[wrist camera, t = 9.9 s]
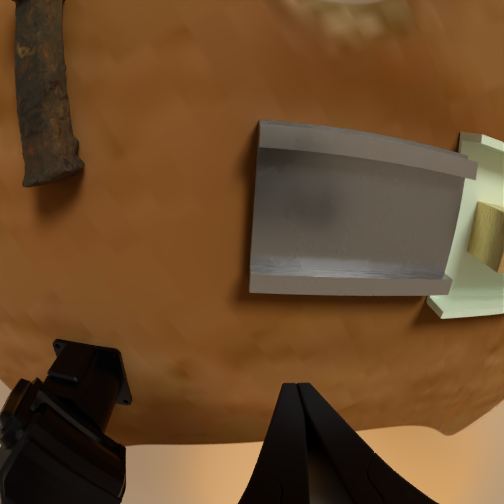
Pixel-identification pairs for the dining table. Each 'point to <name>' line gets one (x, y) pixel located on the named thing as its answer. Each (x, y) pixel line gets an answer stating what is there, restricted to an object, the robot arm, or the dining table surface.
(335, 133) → the slot rail
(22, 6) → the wooden stick
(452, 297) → the tray
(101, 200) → the dining table surface
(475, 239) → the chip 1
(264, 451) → the robot arm
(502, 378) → the dining table surface
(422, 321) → the dining table surface
